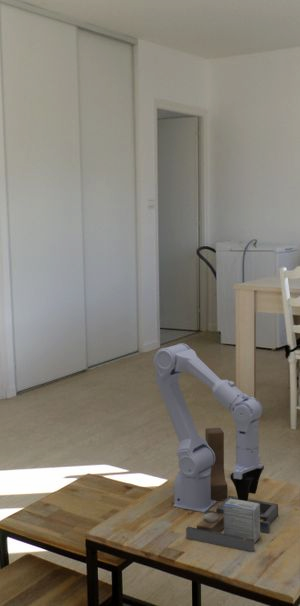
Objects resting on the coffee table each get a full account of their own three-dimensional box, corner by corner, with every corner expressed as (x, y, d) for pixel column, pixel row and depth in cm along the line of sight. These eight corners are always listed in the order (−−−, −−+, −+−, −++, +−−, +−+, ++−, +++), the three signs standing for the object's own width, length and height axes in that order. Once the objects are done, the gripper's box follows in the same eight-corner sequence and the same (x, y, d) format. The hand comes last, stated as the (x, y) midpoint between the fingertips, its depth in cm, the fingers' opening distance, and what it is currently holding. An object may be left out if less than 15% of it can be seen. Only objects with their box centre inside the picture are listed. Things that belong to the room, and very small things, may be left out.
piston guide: (186, 538, 182) (185, 527, 182) (206, 519, 193) (206, 509, 193) (252, 552, 174) (252, 541, 174) (269, 531, 185) (269, 520, 185)
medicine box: (260, 537, 182) (260, 503, 181) (254, 544, 178) (254, 509, 177) (230, 531, 186) (230, 497, 185) (223, 538, 182) (223, 504, 181)
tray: (216, 519, 193) (216, 508, 192) (229, 506, 201) (229, 495, 201) (266, 528, 187) (266, 517, 186) (278, 515, 195) (278, 504, 194)
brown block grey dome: (196, 536, 183) (196, 521, 182) (210, 522, 190) (210, 508, 190) (211, 539, 181) (211, 524, 180) (225, 525, 189) (225, 511, 188)
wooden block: (227, 500, 205) (227, 436, 203) (211, 501, 205) (211, 437, 203) (221, 488, 214) (220, 427, 212) (205, 489, 214) (205, 427, 212)
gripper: (252, 456, 183) (252, 509, 185) (271, 440, 196) (271, 490, 198) (225, 452, 187) (225, 505, 188) (246, 436, 199) (246, 486, 201)
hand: (247, 497), depth 193 cm, fingers open, 6 cm apart
